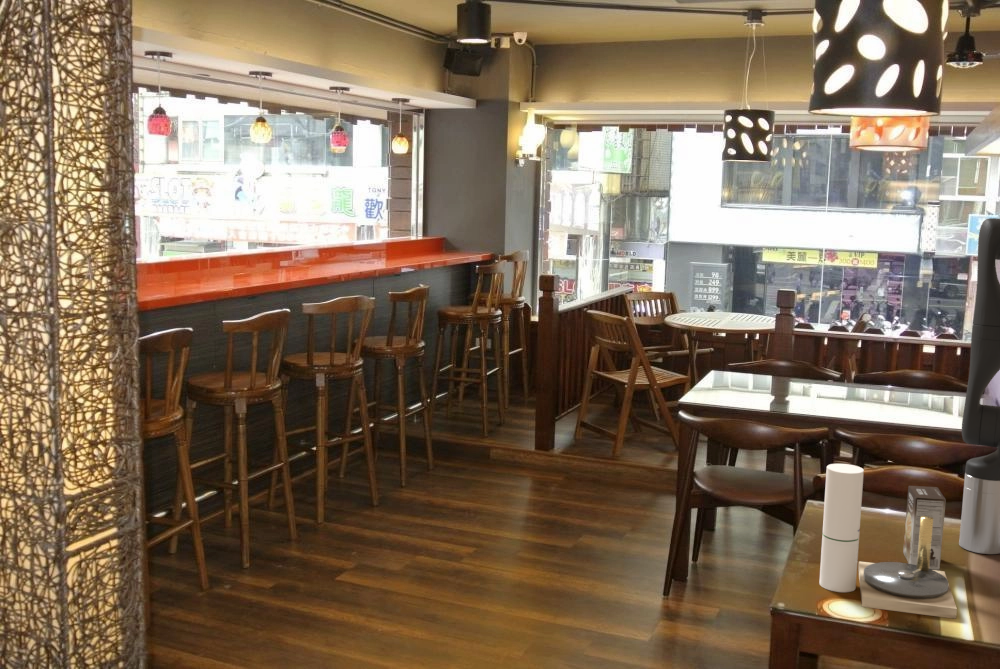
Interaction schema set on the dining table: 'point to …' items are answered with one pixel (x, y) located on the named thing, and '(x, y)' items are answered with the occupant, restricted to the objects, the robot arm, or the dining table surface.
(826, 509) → the cylindrical container
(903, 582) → the crank wheel
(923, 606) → the stand
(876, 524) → the dining table surface
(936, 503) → the coffee box
